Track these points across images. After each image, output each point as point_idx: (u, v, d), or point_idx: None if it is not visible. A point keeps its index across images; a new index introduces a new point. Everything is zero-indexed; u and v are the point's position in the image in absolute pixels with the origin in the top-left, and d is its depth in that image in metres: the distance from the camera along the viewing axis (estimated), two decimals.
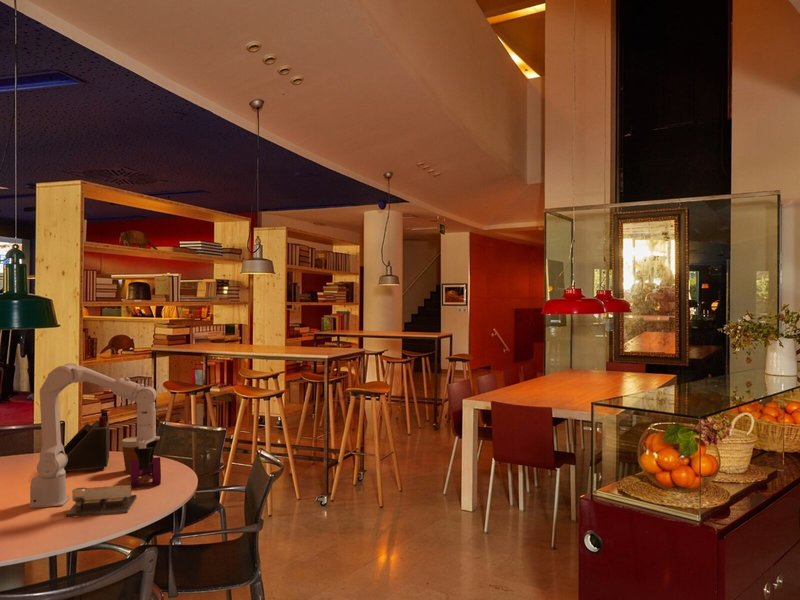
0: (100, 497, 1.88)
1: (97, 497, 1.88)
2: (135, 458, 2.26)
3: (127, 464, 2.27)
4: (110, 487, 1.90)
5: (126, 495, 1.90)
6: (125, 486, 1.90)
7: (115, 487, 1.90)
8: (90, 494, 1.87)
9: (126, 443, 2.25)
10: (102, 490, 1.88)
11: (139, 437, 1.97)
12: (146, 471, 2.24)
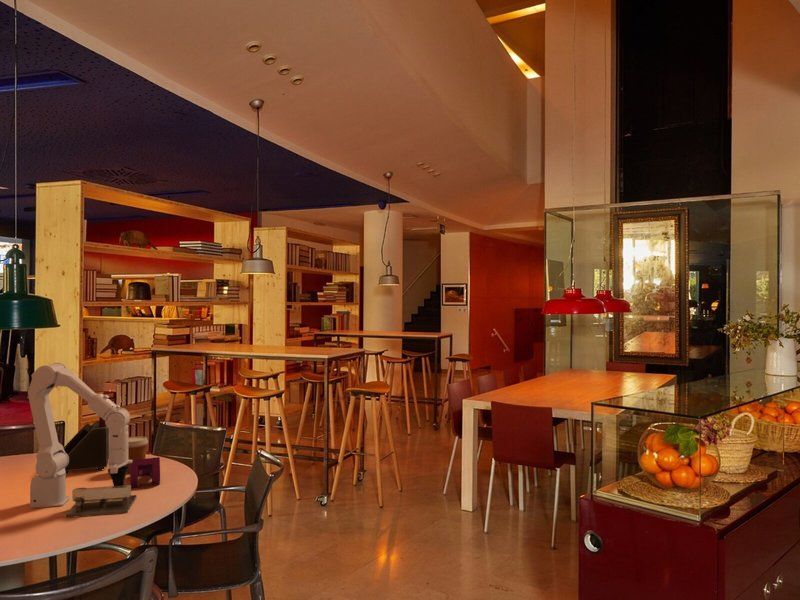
0: (100, 497, 1.88)
1: (97, 497, 1.88)
2: (135, 458, 2.26)
3: (127, 464, 2.27)
4: (110, 487, 1.90)
5: (126, 495, 1.90)
6: (125, 486, 1.90)
7: (115, 487, 1.90)
8: (90, 494, 1.87)
9: None
10: (102, 490, 1.88)
11: (111, 461, 1.93)
12: (146, 471, 2.24)
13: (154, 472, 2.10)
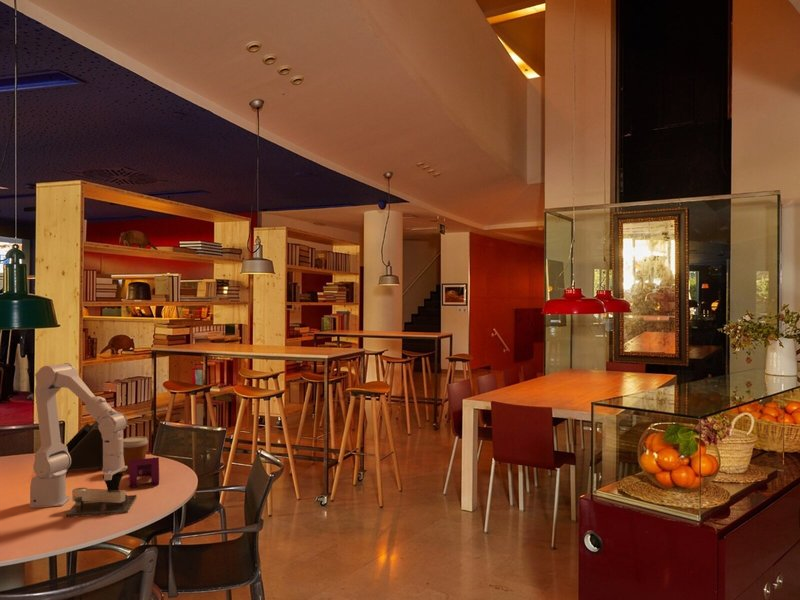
0: (95, 499, 1.86)
1: (92, 499, 1.86)
2: (135, 458, 2.26)
3: (127, 465, 2.27)
4: (105, 490, 1.87)
5: (118, 500, 1.85)
6: (118, 491, 1.85)
7: (109, 491, 1.86)
8: (87, 495, 1.86)
9: (126, 443, 2.25)
10: (97, 493, 1.86)
11: (105, 467, 1.86)
12: (146, 471, 2.24)
13: (153, 472, 2.10)
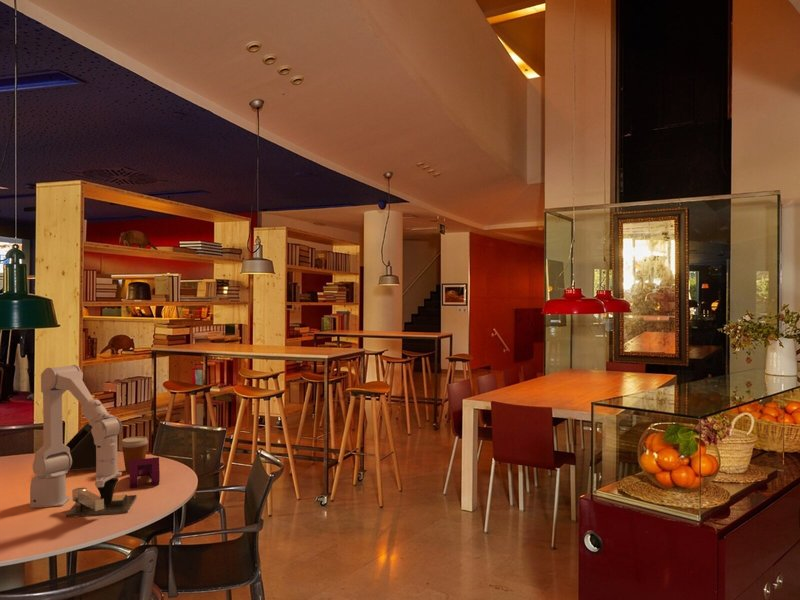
0: (83, 503, 1.83)
1: (82, 502, 1.83)
2: (135, 458, 2.26)
3: (127, 464, 2.27)
4: (91, 495, 1.82)
5: (94, 508, 1.78)
6: (96, 499, 1.79)
7: (92, 496, 1.81)
8: (80, 497, 1.85)
9: (126, 443, 2.25)
10: (84, 496, 1.82)
11: (98, 474, 1.79)
12: (146, 471, 2.24)
13: (153, 472, 2.10)
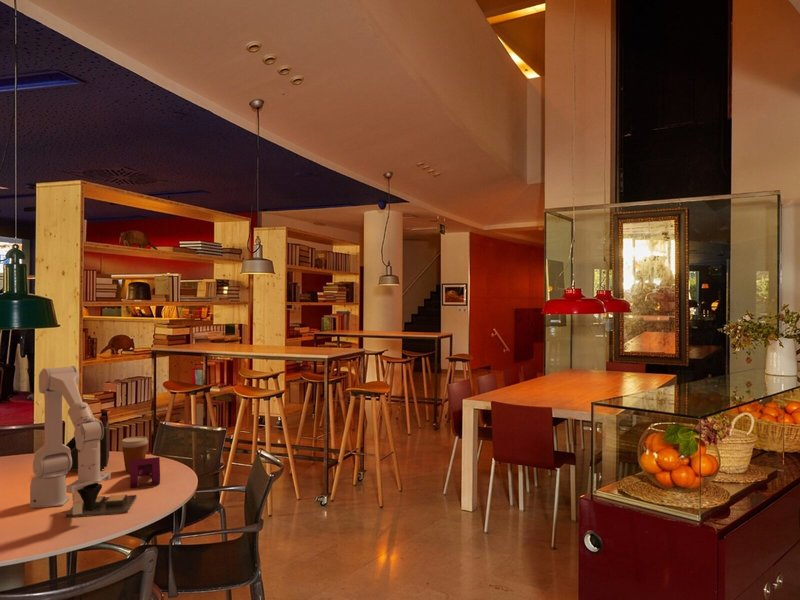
0: None
1: None
2: (135, 458, 2.26)
3: (127, 464, 2.27)
4: (78, 497, 1.80)
5: None
6: (76, 502, 1.76)
7: (77, 499, 1.78)
8: None
9: (126, 443, 2.25)
10: (74, 497, 1.81)
11: (78, 478, 1.75)
12: (145, 471, 2.24)
13: (154, 472, 2.10)
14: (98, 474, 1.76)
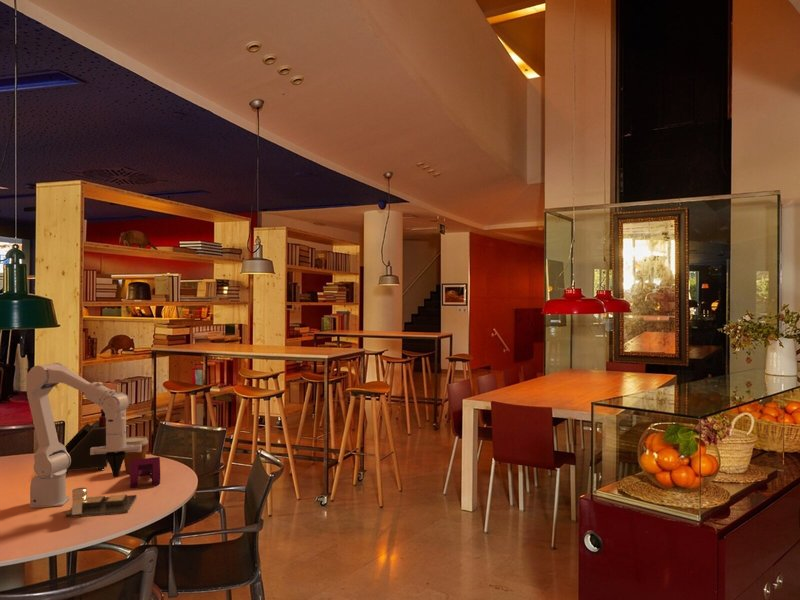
0: None
1: None
2: (135, 458, 2.26)
3: (127, 464, 2.27)
4: (78, 497, 1.80)
5: (72, 512, 1.75)
6: (75, 502, 1.76)
7: (76, 499, 1.78)
8: None
9: (126, 443, 2.25)
10: (73, 497, 1.81)
11: (122, 445, 1.89)
12: (145, 471, 2.24)
13: (154, 472, 2.11)
14: None
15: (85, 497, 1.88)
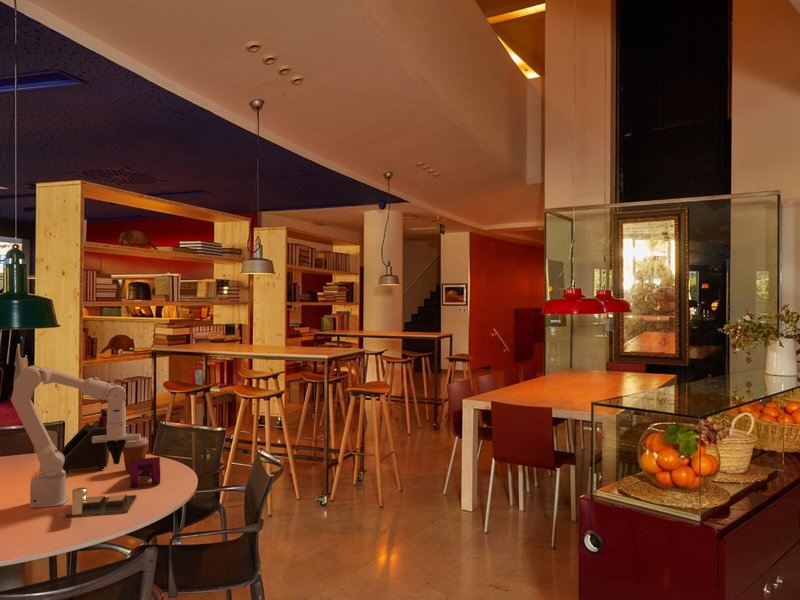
0: None
1: None
2: (135, 458, 2.26)
3: (127, 464, 2.27)
4: (78, 497, 1.80)
5: (72, 512, 1.75)
6: (75, 502, 1.76)
7: (76, 499, 1.78)
8: None
9: (126, 443, 2.25)
10: (73, 497, 1.81)
11: (122, 434, 2.00)
12: (145, 471, 2.24)
13: (154, 472, 2.11)
14: None
15: (85, 497, 1.88)
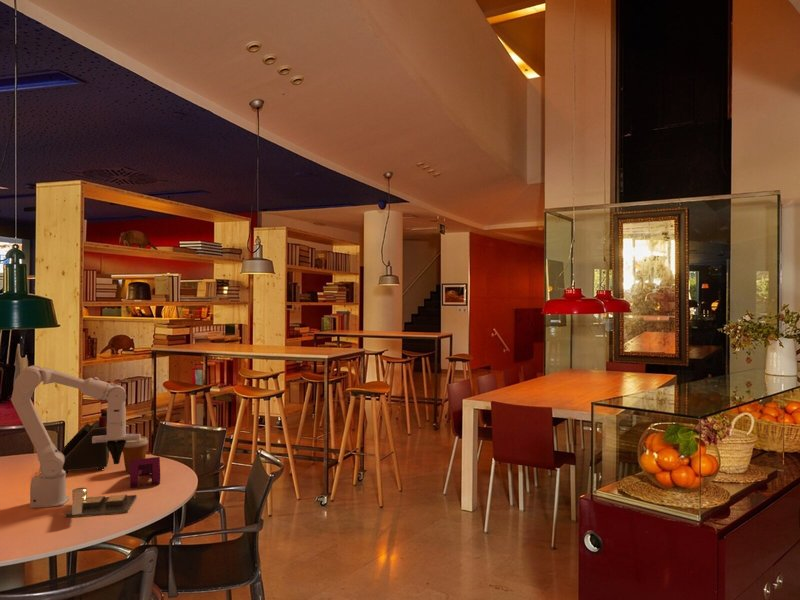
0: None
1: None
2: (135, 458, 2.26)
3: (127, 465, 2.27)
4: (78, 497, 1.80)
5: (72, 512, 1.75)
6: (75, 502, 1.76)
7: (76, 499, 1.78)
8: None
9: (126, 443, 2.25)
10: (73, 497, 1.81)
11: (122, 434, 2.00)
12: (145, 471, 2.24)
13: (154, 472, 2.11)
14: None
15: (85, 497, 1.88)
